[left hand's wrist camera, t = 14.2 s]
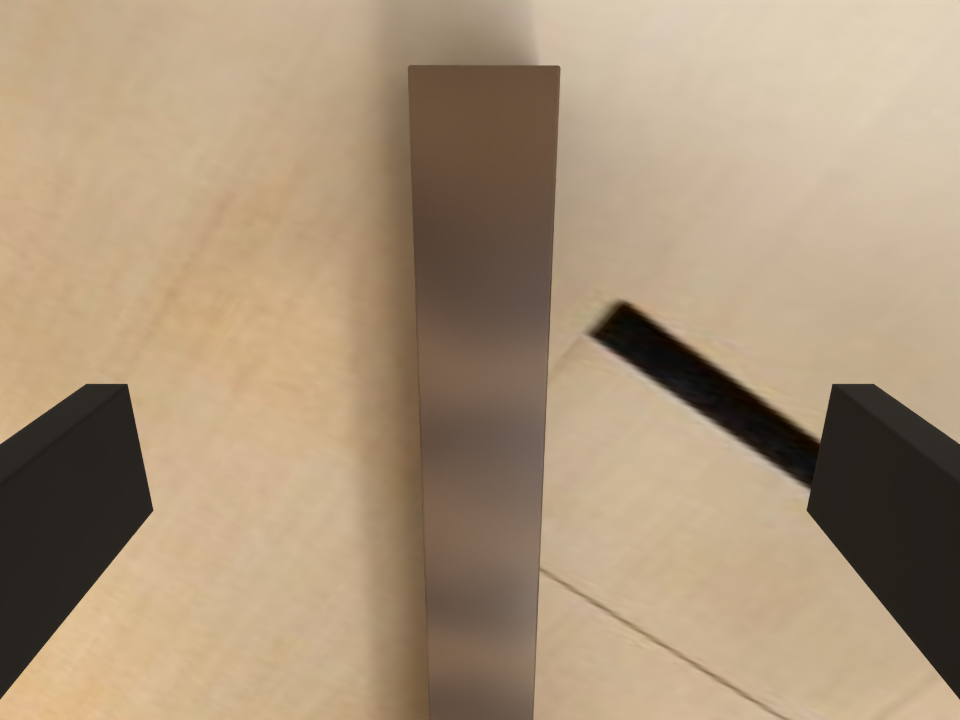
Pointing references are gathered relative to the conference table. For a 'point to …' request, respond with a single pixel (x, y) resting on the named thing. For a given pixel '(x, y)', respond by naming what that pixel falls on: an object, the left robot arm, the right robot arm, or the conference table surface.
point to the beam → (482, 371)
